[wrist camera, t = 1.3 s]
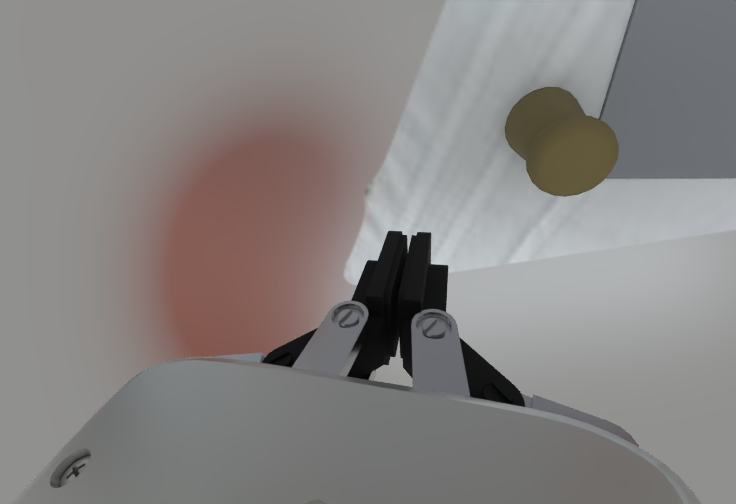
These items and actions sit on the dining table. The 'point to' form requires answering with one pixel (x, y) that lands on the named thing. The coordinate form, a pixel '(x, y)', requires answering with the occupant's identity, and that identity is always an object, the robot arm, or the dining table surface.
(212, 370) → the robot arm
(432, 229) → the dining table surface
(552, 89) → the cork
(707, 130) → the rubber mat
